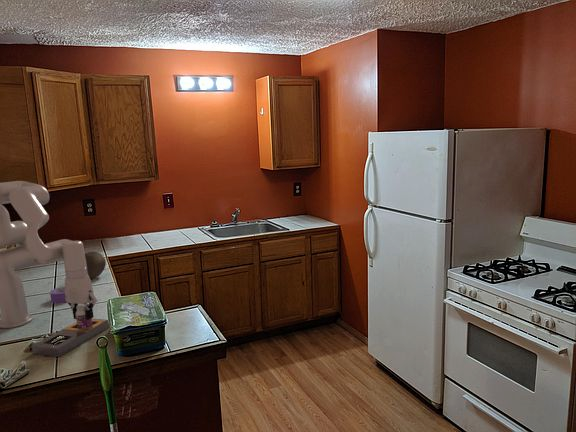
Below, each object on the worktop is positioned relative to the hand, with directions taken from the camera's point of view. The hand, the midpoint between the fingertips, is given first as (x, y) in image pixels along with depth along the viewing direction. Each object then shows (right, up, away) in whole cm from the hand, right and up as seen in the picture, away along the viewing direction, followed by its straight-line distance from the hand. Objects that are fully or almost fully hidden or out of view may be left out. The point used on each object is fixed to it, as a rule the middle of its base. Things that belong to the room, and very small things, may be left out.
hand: (83, 317), depth 172 cm
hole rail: (-2, -7, -5) cm, 9 cm away
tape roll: (-29, -1, +43) cm, 52 cm away
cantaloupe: (-29, +5, +76) cm, 81 cm away
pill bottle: (0, -5, +1) cm, 5 cm away
